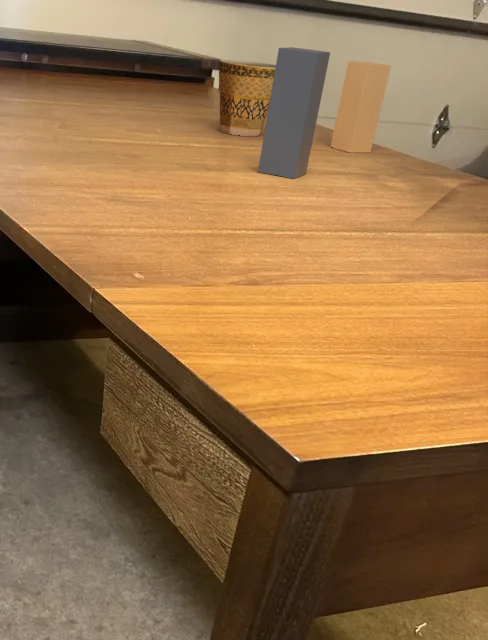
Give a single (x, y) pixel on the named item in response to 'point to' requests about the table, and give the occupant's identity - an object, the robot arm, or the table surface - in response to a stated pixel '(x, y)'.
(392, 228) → the table surface
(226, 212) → the table surface
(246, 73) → the ceramic cup
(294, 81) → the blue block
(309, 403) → the table surface
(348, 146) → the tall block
